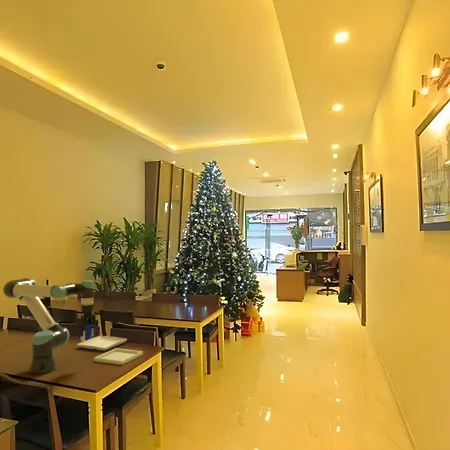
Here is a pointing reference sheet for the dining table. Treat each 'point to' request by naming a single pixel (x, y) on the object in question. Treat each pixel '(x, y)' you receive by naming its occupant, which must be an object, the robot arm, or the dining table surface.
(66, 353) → the dining table surface
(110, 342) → the square plate
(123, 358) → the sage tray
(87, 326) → the mug
